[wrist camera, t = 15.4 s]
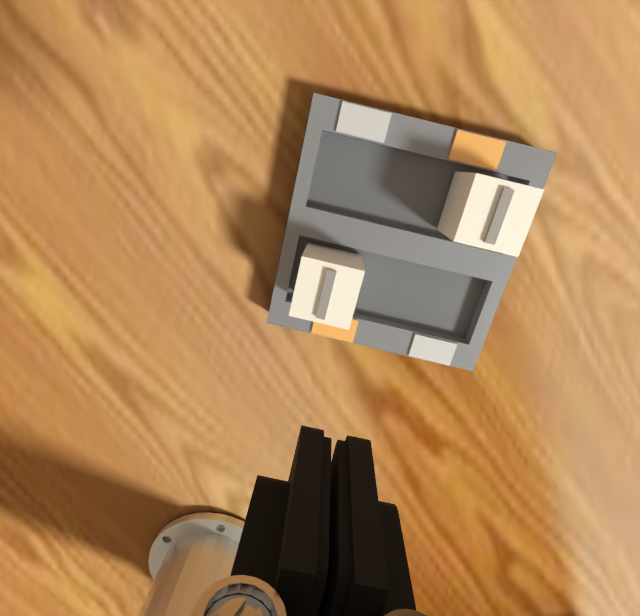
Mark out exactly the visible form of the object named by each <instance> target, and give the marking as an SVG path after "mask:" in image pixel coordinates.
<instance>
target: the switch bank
mask: <svg viewBox="0 0 640 616" xmlns="http://www.w3.org/2000/svg"><path fill="white" fill-rule="evenodd" d="M556 155H557V153H556V152H552V151H548V150H544V149H540V148H536V147H532V146H528V145H524V144H519V143H515V142H511V141H507V140H503V139H499V138H495V137H491V136H487V135H483V134H479V133H475V132H471V131H467V130H463V129H459V128H455V127H451V126H447V125H443V124H439V123H434V122H430V121H426V120H422V119H418V118H414V117H410V116H406V115H402V114H398V113H394V112H390V111H386V110H382V109H378V108H374V107H370V106H366V105H362V104H358V103H353V102H349V101H345V100H341V99H337V98H333V97H329V96H325V95H321V94H317V93H314V94H313V99H312V104H311V109H310V113H309V118H308V123H307V128H306V133H305V138H304V143H303V148H302V153H301V158H300V163H299V167H298V172H297V177H296V182H295V187H294V192H293V197H292V202H291V207H290V212H289V216H288V221H287V226H286V231H285V236H284V241H283V246H282V251H281V256H280V261H279V266H278V270H277V275H276V280H275V285H274V290H273V295H272V300H271V305H270V310H269V315H268V320H267V323H269V324H273V325H278V326H282V327H286V328H290V329H295V330H299V331H303V332H307V333H312V334H316V335H320V336H324V337H329V338H333V339H337V340H341V341H346V342H350V343H354V344H359V345H363V346H367V347H371V348H376V349H380V350H384V351H388V352H393V353H397V354H401V355H405V356H410V357H414V358H418V359H422V360H427V361H431V362H435V363H439V364H444V365H448V366H452V367H456V368H461V369H465V370H469V371H473V370H474V367H475V365H476V362H477V359H478V357H479V354H480V352H481V349H482V347H483V344H484V341H485V339H486V336H487V334H488V331H489V328H490V326H491V323H492V321H493V318H494V315H495V313H496V310H497V308H498V305H499V302H500V300H501V297H502V295H503V292H504V289H505V287H506V284H507V282H508V279H509V276H510V274H511V271H512V269H513V266H514V263H515V261H516V258H517V257H516V256H511V255H507V254H503V253H499V252H495V251H491V250H487V249H482V248H478V247H474V246H470V245H466V244H462V243H458V242H454V241H452V240H451V239H449V238H448V237H447V236H445V235H444V234H442V233H441V232H440V231H438V230H437V227H438V224H439V221H440V217H441V214H442V211H443V208H444V205H445V202H446V199H447V195H448V192H449V189H450V186H451V183H452V180H453V177H454V173H455V171H457V172H470V173H478V174H482V175H486V176H491V177H495V178H499V179H503V180H507V181H511V182H515V183H519V184H523V185H527V186H531V187H535V188H539V189H543V188H544V186H545V183H546V180H547V178H548V175H549V173H550V170H551V167H552V165H553V162H554V160H555V157H556ZM308 242H310V243H314V244H318V245H323V246H327V247H331V248H335V249H339V250H343V251H348V252H352V253H356V254H360V255H362V257H363V263H364V268H365V273H364V277H363V281H362V284H361V288H360V292H359V295H358V299H357V303H356V306H355V310H354V314H353V317H352V321H351V325H350V328H349V330H347V329H343V328H338V327H334V326H330V325H326V324H321V323H317V322H313V321H309V320H304V319H300V318H296V317H292V316H289V312H290V307H291V303H292V298H293V294H294V289H295V285H296V280H297V275H298V271H299V266H300V262H301V257H302V255H303V252H304V250H305V248H306V246H307V244H308Z"/></svg>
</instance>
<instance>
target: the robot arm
mask: <svg viewBox="0 0 640 616" xmlns="http://www.w3.org/2000/svg"><path fill="white" fill-rule="evenodd" d="M148 563H149V571H150V574H151V576H152V579H153V583H152V585H151V587H150V590H149V592H148V594H147V596H146V598H145V601H144V603H143V605H142V607H141V609H140V611H139V614H138V616H427V615H425V614H423V613H421V612H419V611H416V606H415V601H414V595H413V590H412V584H411V579H410V574H409V568H408V563H407V557H406V552H405V546H404V541H403V535H402V530H401V525H400V519H399V514H398V510H397V507H396V505H395V504H390V503H386V502H381V501H378V495H377V487H376V479H375V471H374V463H373V456H372V448H371V442H370V440H366V439H362V438H357V437H352V436H347V437H346V440H345V441H342V440H337V443H336V446H335V450H334V454H333V458H332V461H331V438H328V437H324V430H320V429H315V428H311V427H306V426H301V429H300V434H299V438H298V442H297V446H296V450H295V455H294V459H293V463H292V467H291V472H290V476H289V480H288V482H287V481H283V480H278V479H273V478H268V477H264V476H259V475H258V476H257V479H256V483H255V487H254V490H253V494H252V498H251V501H250V505H249V509H248V512H247V516H246V520H245V522H244V521H242V520H239V519H237V518H235V517H232V516H228V515H224V514H219V513H209V512H207V513H194V514H189V515H185V516H182V517H180V518H177V519H175V520H173V521H172V522H170V523H169V524H167V525H166V526H165V527H164V528H163V529H162V530H161V531H160V532H159V533H158V535H157V537H156V539H155V541H154V542H153V545H152V547H151V549H150V552H149V559H148Z"/></svg>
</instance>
